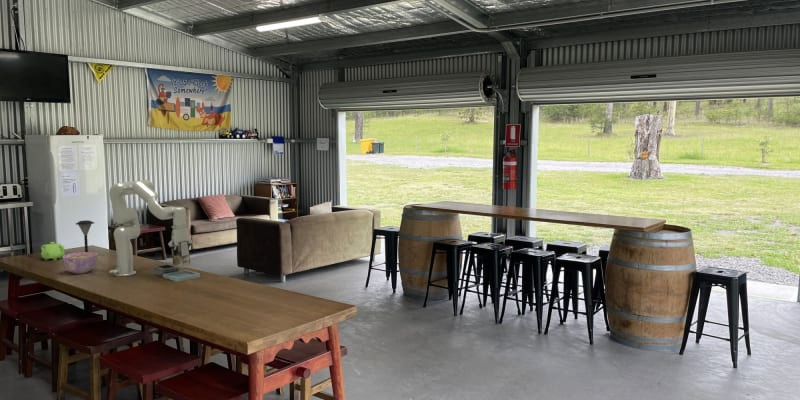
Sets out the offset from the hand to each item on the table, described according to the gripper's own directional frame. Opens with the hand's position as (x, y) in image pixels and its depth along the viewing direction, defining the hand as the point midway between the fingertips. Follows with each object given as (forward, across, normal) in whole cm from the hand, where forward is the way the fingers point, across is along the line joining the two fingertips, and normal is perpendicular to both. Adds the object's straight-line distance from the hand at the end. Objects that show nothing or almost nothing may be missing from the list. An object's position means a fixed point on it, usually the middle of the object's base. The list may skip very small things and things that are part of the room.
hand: (180, 254), depth 357 cm
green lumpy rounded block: (+15, -29, +127) cm, 131 cm away
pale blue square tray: (+15, 0, 0) cm, 15 cm away
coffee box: (+8, 0, 0) cm, 8 cm away
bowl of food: (+15, -34, +65) cm, 75 cm away
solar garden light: (+15, -18, +95) cm, 98 cm away
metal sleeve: (+15, -1, +17) cm, 23 cm away
